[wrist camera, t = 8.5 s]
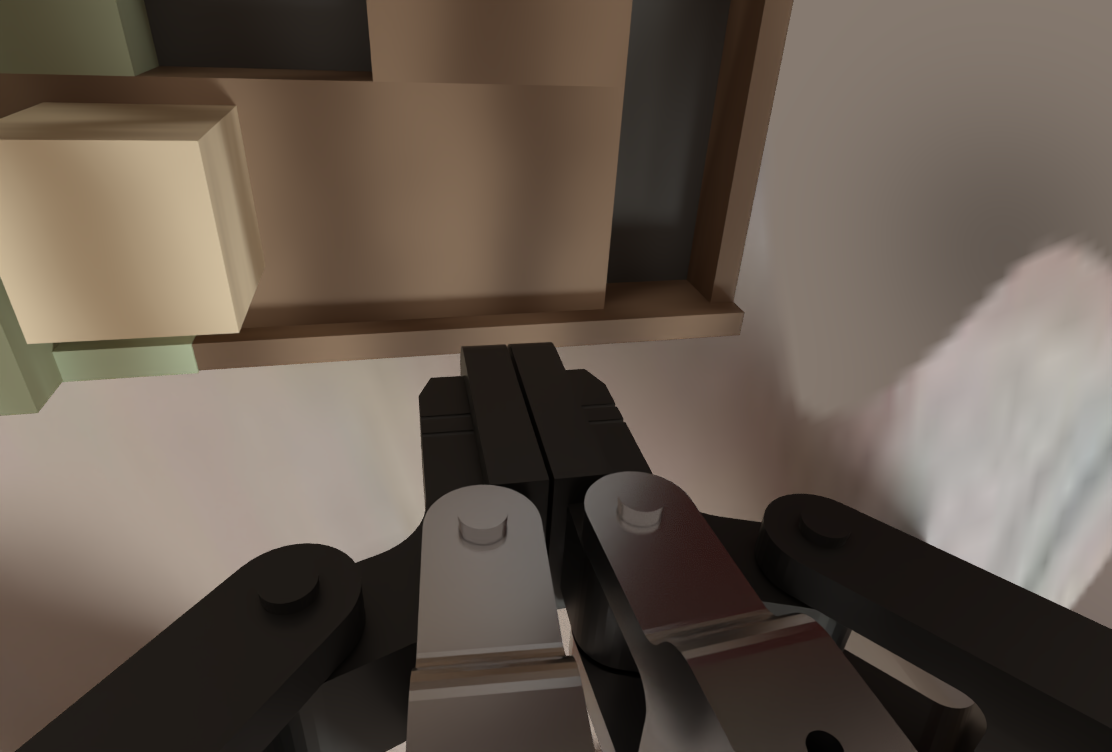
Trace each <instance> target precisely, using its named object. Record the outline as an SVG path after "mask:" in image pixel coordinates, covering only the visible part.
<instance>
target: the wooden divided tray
mask: <svg viewBox="0 0 1112 752" xmlns="http://www.w3.org/2000/svg"><path fill="white" fill-rule="evenodd" d="M792 5H793V0H0V119H1V118H3V117H6V116H9V115H11V114H14V113H16V112H19V111H22V110H24V109H27V108H30V107H32V106H35V105H38V104H40V103H43V102H52V103H111V104H171V105H230V106H237V112H238V117H239V123H240V128H241V134H242V139H243V145H244V150H245V156H246V162H247V167H248V173H249V178H250V184H251V189H252V195H253V200H254V206H255V211H256V217H257V222H258V228H259V233H260V239H261V244H262V250H263V255H264V261H265V268H264V270H263V273H262V275H261V278H260V280H259V283H258V286H257V288H256V291H255V293H254V296H253V298H252V301H251V303H250V306H249V309H248V311H247V314H246V316H245V319H244V321H243V324H242V327H241V329H240V332H239V333H229V334H210V335H190V336H171V337H152V338H133V339H114V340H95V341H76V342H57V343H38V344H27V342H26V340H25V337H24V335H23V332H22V330H21V327H20V325H19V322H18V320H17V317H16V315H15V312H14V310H13V307H12V305H11V302H10V300H9V297H8V295H7V292H6V290H5V287H4V285H3V282H2V280H1V277H0V416H4V415H17V414H31V413H38V412H39V411H40V410H41V408H42V407H43V406H44V405H45V403H46V402H47V401H48V399H49V398H50V397H51V396H52V394H53V393H54V392H55V390H56V389H57V388H58V387H59V385H60V384H61V383H62V382H71V381H86V380H101V379H116V378H131V377H146V376H162V375H177V374H192V373H198V372H199V370H211V369H227V368H242V367H257V366H273V365H288V364H303V363H319V362H334V361H349V360H365V359H380V358H395V357H411V356H426V355H441V354H457V353H461V346H478V345H499V344H506V346H508V344H518V343H539V342H552V343H553V344H554V346H555V347H564V346H579V345H595V344H610V343H626V342H641V341H656V340H672V339H687V338H702V337H718V336H733V335H740V331H741V326H742V322H743V317H744V312H743V311H742V310H741V309H740V308H739V307H738V306H737V305H736V304H735V303H734V302H733V300H734V295H735V290H736V285H737V280H738V275H739V270H740V265H741V260H742V255H743V250H744V245H745V240H746V235H747V230H748V225H749V220H750V215H751V210H752V205H753V200H754V195H755V190H756V185H757V180H758V175H759V170H760V165H761V160H762V155H763V150H764V145H765V140H766V135H767V130H768V125H769V120H770V115H771V110H772V105H773V100H774V95H775V90H776V85H777V80H778V75H779V70H780V65H781V60H782V55H783V50H784V45H785V40H786V35H787V30H788V25H789V20H790V15H791V10H792Z"/></svg>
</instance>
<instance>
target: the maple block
mask: <svg viewBox="0 0 1112 752" xmlns="http://www.w3.org/2000/svg"><path fill="white" fill-rule="evenodd" d="M264 268H265V261H264V255H263V250H262V244H261V239H260V233H259V228H258V222H257V217H256V211H255V206H254V200H253V195H252V189H251V184H250V178H249V173H248V167H247V162H246V156H245V150H244V145H243V139H242V134H241V128H240V123H239V117H238V112H237V106H230V105H171V104H111V103H52V102H43V103H40V104H38V105H35V106H32V107H30V108H27V109H24V110H22V111H19V112H16V113H14V114H11V115H9V116H6V117H3V118H1V119H0V277H1V280H2V282H3V285H4V287H5V290H6V292H7V295H8V297H9V300H10V302H11V305H12V307H13V310H14V312H15V315H16V317H17V320H18V322H19V325H20V327H21V330H22V332H23V335H24V337H25V340H26V342H27V344H38V343H57V342H76V341H95V340H114V339H133V338H152V337H171V336H190V335H210V334H229V333H239V332H240V329H241V327H242V324H243V321H244V319H245V316H246V314H247V311H248V309H249V306H250V303H251V301H252V298H253V296H254V293H255V291H256V288H257V286H258V283H259V280H260V278H261V275H262V273H263V270H264Z"/></svg>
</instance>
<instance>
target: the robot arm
mask: <svg viewBox="0 0 1112 752" xmlns="http://www.w3.org/2000/svg"><path fill="white" fill-rule="evenodd" d="M460 366H461V376H456V377H438V378H430V380H429V381H428V383H427V384H426V386H425V387H424V389H423V390H422V392H421V393H420V395H419V411H420V430H421V449H422V468H423V483H424V498H425V514H424V517H423V519H422V521H421V523H420V525H419V526H418V527H417V529H416V530H415V531H414V532H413V533H412V534H411V535H410V536H409V537H408V538H407V539H406V540H404V541H403V542H402V543H400V544H399V545H397V546H395V547H394V548H392V549H390V550H388V551H386V552H383V553H381V554H379V555H376V556H373V557H370V558H368V559H365V560H362V561H359V562H357V563H355V562H354V561H353V560H352V559H351V558H350V557H349V556H348V555H347V554H345V553H344V552H342V551H340V550H338V549H336V548H333V547H330V546H326V545H321V544H310V543H306V544H294V545H289V546H284V547H280V548H277V549H274V550H271V551H269V552H266V553H264V554H262V555H260V556H258V557H256V558H254V559H253V560H251V561H249V562H248V563H247V564H245V565H244V566H242V567H241V568H240V569H238V570H237V571H236V572H235V573H234V574H232V575H231V576H230V577H229V578H227V579H226V580H225V581H224V582H223V583H221V584H220V585H219V586H218V587H216V588H215V589H214V590H213V591H211V592H210V593H209V594H208V595H207V596H205V597H204V598H203V599H202V600H200V601H199V602H198V603H197V604H196V605H194V606H193V607H192V608H191V609H189V610H188V611H187V612H186V613H184V614H183V615H182V616H181V617H180V618H178V619H177V620H176V621H175V622H173V623H172V624H171V625H170V626H169V627H167V628H166V629H165V630H164V631H162V632H161V633H160V634H159V635H157V636H156V637H155V638H154V639H153V640H151V641H150V642H149V643H148V644H146V645H145V646H144V647H143V648H141V649H140V650H139V651H138V652H137V653H135V654H134V655H133V656H132V657H130V658H129V659H128V660H127V661H126V662H124V663H123V664H122V665H121V666H119V667H118V668H117V669H116V670H114V671H113V672H112V673H111V674H110V675H108V676H107V677H106V678H105V679H103V680H102V681H101V682H100V683H99V684H97V685H96V686H95V687H94V688H92V689H91V690H90V691H89V692H87V693H86V694H85V695H84V696H83V697H81V698H80V699H79V700H78V701H76V702H75V703H74V704H73V705H72V706H70V707H69V708H68V709H67V710H65V711H64V712H63V713H62V714H60V715H59V716H58V717H57V718H56V719H54V720H53V721H52V722H51V723H49V724H48V725H47V726H46V727H45V728H43V729H42V730H41V731H40V732H38V733H37V734H36V735H35V736H33V737H32V738H31V739H30V740H29V741H27V742H26V743H25V744H24V745H22V746H21V747H20V748H19V749H17V750H16V751H15V752H386V751H388V750H390V749H392V748H393V747H395V746H397V745H399V744H401V743H403V742H405V741H406V752H595V749H594V744H593V739H592V734H591V728H590V723H589V718H588V713H589V716H590V718H591V721H592V724H593V727H594V730H595V733H596V735H597V738H598V741H599V744H600V747H601V750H602V752H1112V629H1110V628H1108V627H1106V626H1103V625H1101V624H1099V623H1097V622H1095V621H1093V620H1090V619H1088V618H1086V617H1084V616H1082V615H1080V614H1078V613H1076V612H1073V611H1071V610H1069V609H1067V608H1065V607H1063V606H1061V605H1058V604H1056V603H1054V602H1052V601H1050V600H1048V599H1046V598H1043V597H1041V596H1039V595H1037V594H1035V593H1033V592H1031V591H1028V590H1026V589H1024V588H1022V587H1020V586H1018V585H1016V584H1013V583H1011V582H1009V581H1007V580H1005V579H1003V578H1001V577H998V576H996V575H994V574H992V573H990V572H988V571H986V570H983V569H981V568H979V567H977V566H975V565H973V564H971V563H968V562H966V561H964V560H962V559H960V558H958V557H956V556H953V555H951V554H949V553H947V552H945V551H943V550H941V549H938V548H936V547H934V546H932V545H930V544H928V543H925V542H923V541H921V540H919V539H917V538H915V537H913V536H910V535H908V534H906V533H904V532H902V531H900V530H898V529H895V528H893V527H891V526H889V525H887V524H885V523H883V522H880V521H878V520H876V519H874V518H872V517H870V516H868V515H865V514H863V513H861V512H859V511H857V510H855V509H853V508H850V507H848V506H846V505H844V504H842V503H839V502H837V501H835V500H832V499H829V498H825V497H822V496H817V495H811V494H791V495H786V496H782V497H779V498H777V499H776V500H774V501H772V502H771V503H770V504H769V505H768V507H767V508H766V510H765V513H764V517H763V520H762V522H755V521H747V520H740V519H733V518H725V517H719V516H713V515H708V514H705V513H701V512H700V511H699V510H698V508H697V507H696V506H695V504H694V503H693V501H692V500H691V498H690V497H689V496H688V495H687V494H686V492H684V491H683V490H682V489H681V488H680V487H679V486H677V485H676V484H674V483H673V482H671V481H669V480H667V479H665V478H662V477H659V476H657V475H653V474H652V472H651V470H650V468H649V466H648V464H647V462H646V460H645V459H644V457H643V455H642V453H641V451H640V449H639V447H638V445H637V443H636V442H635V440H634V438H633V436H632V434H631V432H630V430H629V428H628V427H627V425H626V423H625V422H623V417H622V415H621V413H620V411H619V410H618V408H617V407H615V402H614V400H613V398H612V396H611V394H610V393H609V391H608V389H607V387H606V385H605V384H604V383H603V382H601V381H600V380H599V379H597V378H596V377H595V376H593V375H592V374H591V373H589V372H588V371H587V370H585V369H577V370H565V368H564V366H563V364H562V362H561V359H560V357H559V355H558V353H557V350H556V348H555V346H554V344H553V343H552V342H539V343H518V344H508V346H506V344H499V345H478V346H461V354H460ZM562 608H566V610H567V614H568V617H569V621H570V624H571V631H570V641H569V656H566V655H565V652H564V648H563V643H562V637H561V631H560V625H559V619H558V614H557V609H562ZM587 710H588V712H587Z"/></svg>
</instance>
